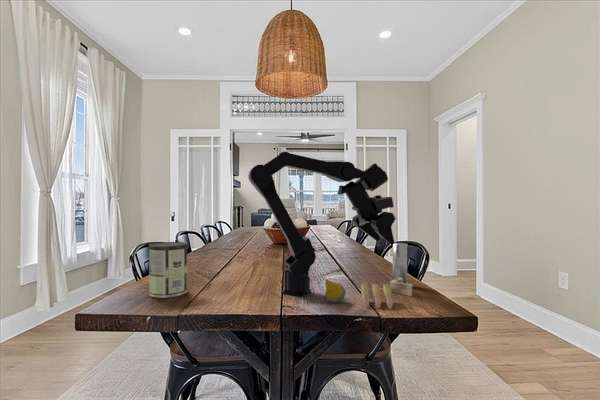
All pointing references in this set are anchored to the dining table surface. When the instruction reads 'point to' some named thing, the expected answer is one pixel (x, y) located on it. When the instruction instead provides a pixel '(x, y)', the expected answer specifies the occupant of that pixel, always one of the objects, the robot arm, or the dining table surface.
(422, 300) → the dining table surface
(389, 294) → the ammunition
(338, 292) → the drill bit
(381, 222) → the robot arm
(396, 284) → the v block
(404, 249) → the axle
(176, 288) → the coffee can
